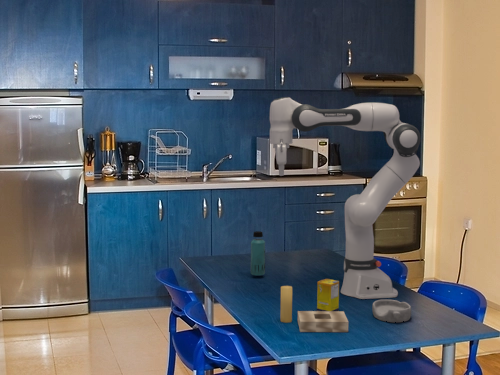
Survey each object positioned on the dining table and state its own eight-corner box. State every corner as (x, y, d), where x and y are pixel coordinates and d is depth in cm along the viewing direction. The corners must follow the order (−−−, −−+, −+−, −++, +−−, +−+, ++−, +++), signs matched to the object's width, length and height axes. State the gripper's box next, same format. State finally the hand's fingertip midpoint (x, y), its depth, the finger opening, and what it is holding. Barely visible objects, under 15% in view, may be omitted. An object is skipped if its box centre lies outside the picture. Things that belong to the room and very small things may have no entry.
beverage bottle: (252, 279, 308) (252, 233, 306) (248, 275, 314) (248, 230, 312) (267, 278, 310) (267, 232, 307) (262, 274, 316) (263, 230, 314)
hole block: (343, 321, 251) (343, 311, 250) (348, 332, 239) (348, 321, 238) (297, 320, 251) (297, 311, 250) (300, 331, 239) (300, 321, 238)
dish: (402, 326, 246) (402, 312, 245) (365, 319, 254) (365, 305, 253) (418, 316, 258) (418, 302, 257) (382, 309, 266) (382, 296, 265)
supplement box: (325, 306, 268) (326, 278, 266) (339, 310, 264) (339, 281, 263) (316, 310, 263) (316, 281, 262) (330, 313, 259) (330, 284, 258)
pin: (291, 319, 253) (291, 285, 251) (292, 322, 249) (292, 288, 247) (280, 319, 253) (280, 285, 251) (280, 322, 249) (281, 288, 247)
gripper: (289, 139, 269) (290, 176, 270) (288, 138, 289) (288, 172, 290) (273, 140, 269) (273, 176, 270) (272, 138, 289) (273, 172, 290)
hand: (281, 174), depth 280 cm, fingers open, 8 cm apart
